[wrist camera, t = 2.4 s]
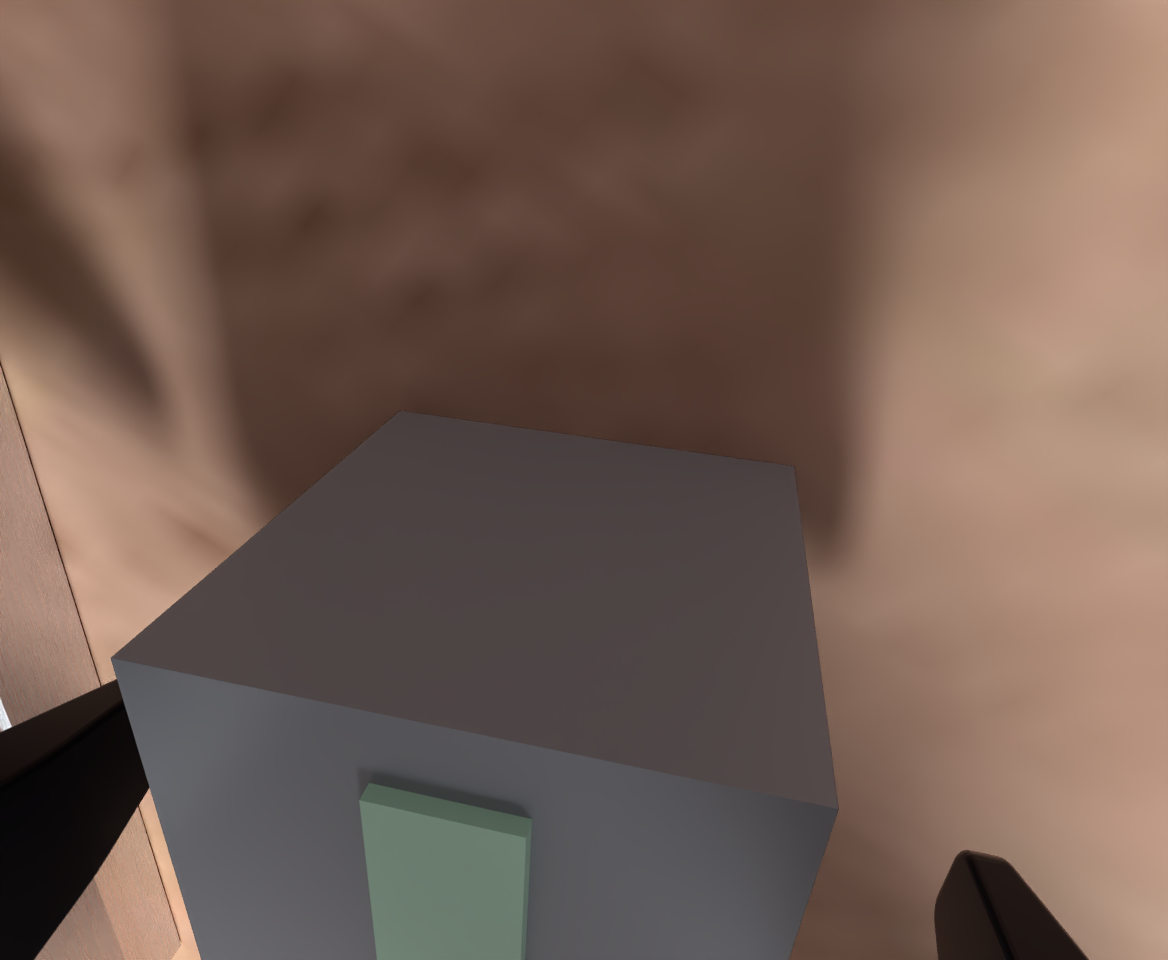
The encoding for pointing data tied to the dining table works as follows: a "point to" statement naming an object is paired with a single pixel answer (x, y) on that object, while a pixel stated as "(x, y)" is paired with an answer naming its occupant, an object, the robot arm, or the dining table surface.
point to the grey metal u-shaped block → (48, 679)
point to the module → (497, 709)
